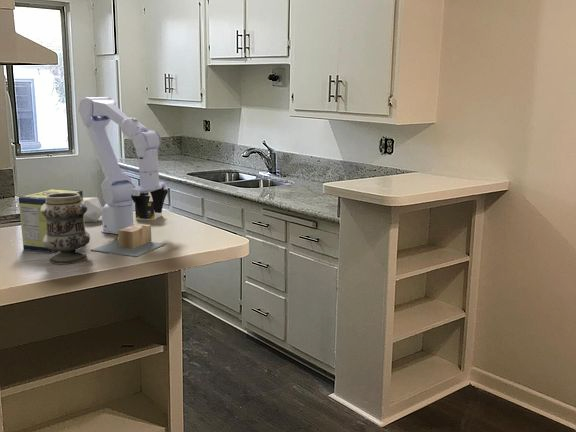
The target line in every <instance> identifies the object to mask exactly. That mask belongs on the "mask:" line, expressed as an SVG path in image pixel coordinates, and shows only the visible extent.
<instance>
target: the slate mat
mask: <svg viewBox="0 0 576 432" xmlns="http://www.w3.org/2000/svg"><path fill="white" fill-rule="evenodd" d="M166 245H167V244H166V243H163V242H155V241H151V242H148V243H146V244H143V245H141V246H138V247H136V248H133V249H132V248H124V247H119V239H116V240H113V241H111V242H108V243H105V244H102V245H100V246H96V247H94V248H91V249H90V251H91V252H99V253H103V254H104V253H106V254H113V255H120V256H126V257H127V256H128V257H134V258H135V257H136V258H138V257H140V256H142V255H145V254H147V253H149V252H151V251H153V250H156V249H159V248H160V247H163V246H166Z"/></svg>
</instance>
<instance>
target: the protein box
mask: <svg viewBox="0 0 576 432" xmlns="http://www.w3.org/2000/svg"><path fill="white" fill-rule="evenodd" d="M69 192H70V193H78V194H79V195H80V198H81V201H83V198H84V196H83V190H75V189H74V190H73V189H63V188H52V189H49V190H45V191H41V192H37V193H32V194H28V195H23V196H19V197H18V207H19V217H20V225H21V236H22V237H21V238H22V246H23V247H22V249H23V250H24V251H32V252H33V251H34V252H43V253H55V252H56V251H54V250H51V249H48V248H47V247H46V246H45V245H44V244H43V237H44V236H45V235H46V234H47V222H46V217H45V216H43V215H42V214H41V207H42V205H43V204H45V203H46V196H47V195H49V194H54V193H69ZM83 220H84V214H83ZM85 223H86V222H85V220H84V228H85V229H86V224H85Z"/></svg>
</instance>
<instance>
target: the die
mask: <svg viewBox="0 0 576 432" xmlns="http://www.w3.org/2000/svg"><path fill="white" fill-rule="evenodd" d="M83 202H84V203H85V204H86V205H87V211H86V213H84V220H85V223H86V222H87V223H90V222H91V223H95V222H97V221H98V220H99V219H100V217H102V209H103V206H102V204H101V202H100V199H99V197H83Z"/></svg>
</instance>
